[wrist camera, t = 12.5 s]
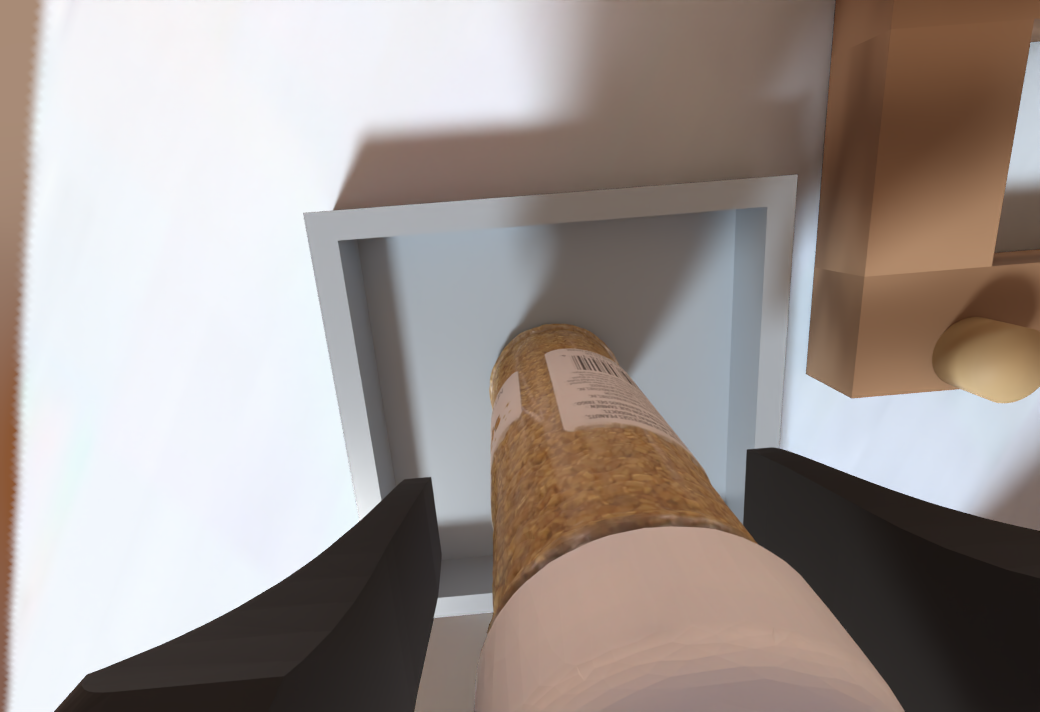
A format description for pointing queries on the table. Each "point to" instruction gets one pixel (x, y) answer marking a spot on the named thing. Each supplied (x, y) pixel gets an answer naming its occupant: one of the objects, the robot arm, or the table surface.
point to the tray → (550, 300)
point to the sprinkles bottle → (636, 562)
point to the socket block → (923, 203)
